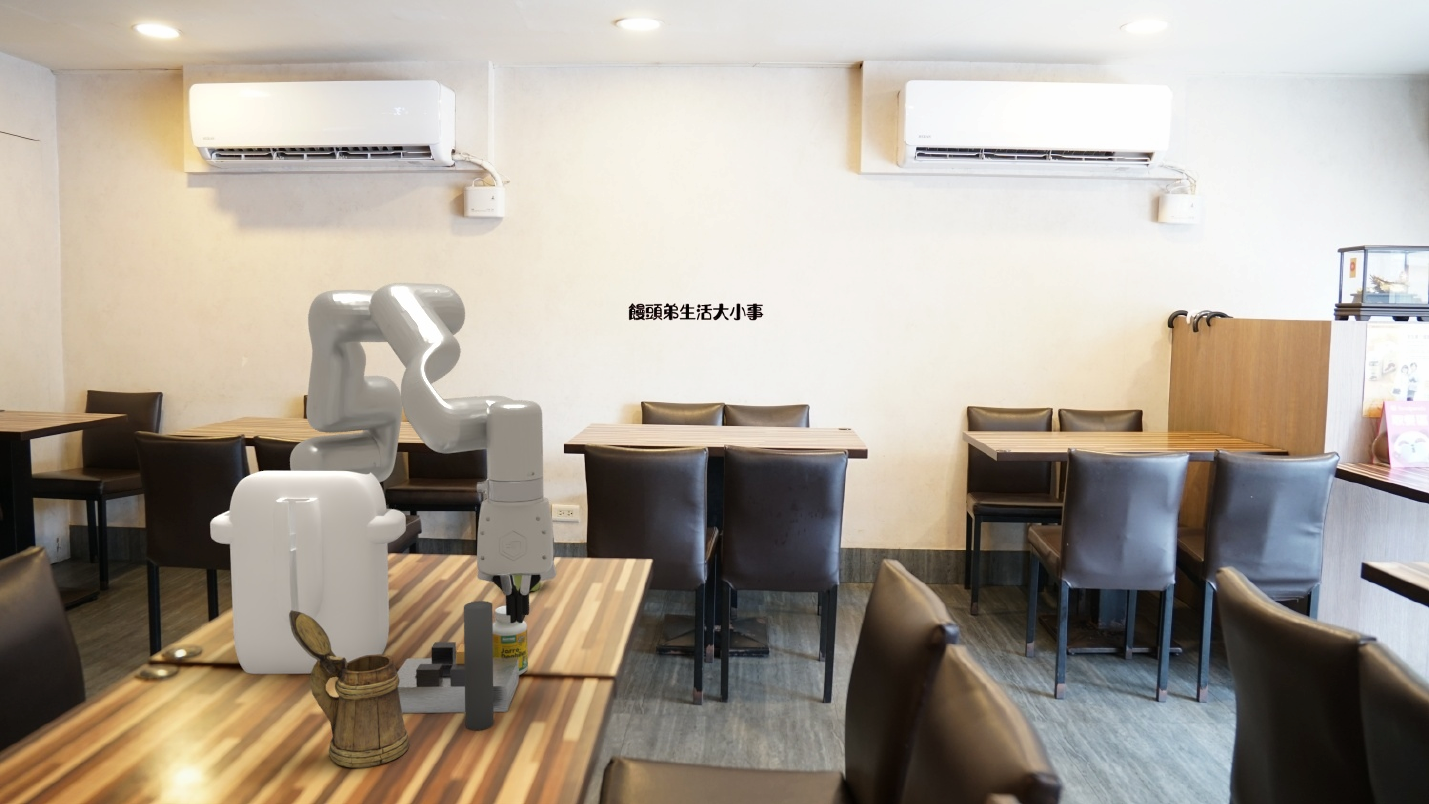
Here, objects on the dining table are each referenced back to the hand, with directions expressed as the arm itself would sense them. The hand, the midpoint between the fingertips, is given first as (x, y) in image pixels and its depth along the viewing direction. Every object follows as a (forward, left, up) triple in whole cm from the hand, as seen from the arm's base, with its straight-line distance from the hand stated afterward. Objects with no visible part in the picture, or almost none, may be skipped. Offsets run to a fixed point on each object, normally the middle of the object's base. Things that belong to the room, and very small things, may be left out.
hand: (517, 619), depth 125 cm
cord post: (-4, -8, -11) cm, 14 cm away
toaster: (-33, +11, -11) cm, 36 cm away
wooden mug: (-18, -15, -11) cm, 26 cm away
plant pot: (-7, +49, -11) cm, 51 cm away
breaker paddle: (-7, 0, -7) cm, 10 cm away
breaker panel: (-9, 0, -11) cm, 14 cm away
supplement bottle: (-3, +9, -11) cm, 15 cm away
